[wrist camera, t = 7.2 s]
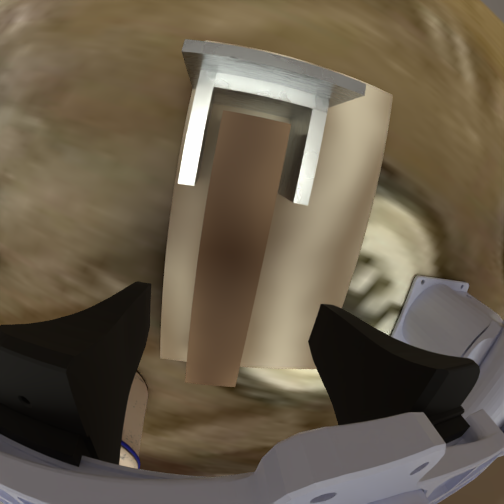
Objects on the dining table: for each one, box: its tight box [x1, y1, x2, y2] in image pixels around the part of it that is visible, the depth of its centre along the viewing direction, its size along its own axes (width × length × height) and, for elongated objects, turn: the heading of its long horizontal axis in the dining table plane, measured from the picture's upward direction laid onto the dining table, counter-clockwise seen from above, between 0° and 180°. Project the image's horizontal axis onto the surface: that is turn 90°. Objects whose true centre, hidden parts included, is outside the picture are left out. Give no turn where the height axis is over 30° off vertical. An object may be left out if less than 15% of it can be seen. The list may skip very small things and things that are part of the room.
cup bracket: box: [178, 39, 366, 206], centre depth 14 cm, size 8×6×7 cm
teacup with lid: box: [119, 372, 148, 469], centre depth 18 cm, size 12×9×12 cm
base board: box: [160, 40, 393, 369], centre depth 20 cm, size 14×24×1 cm, turn 169°
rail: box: [185, 110, 291, 387], centre depth 17 cm, size 4×17×4 cm, turn 169°
